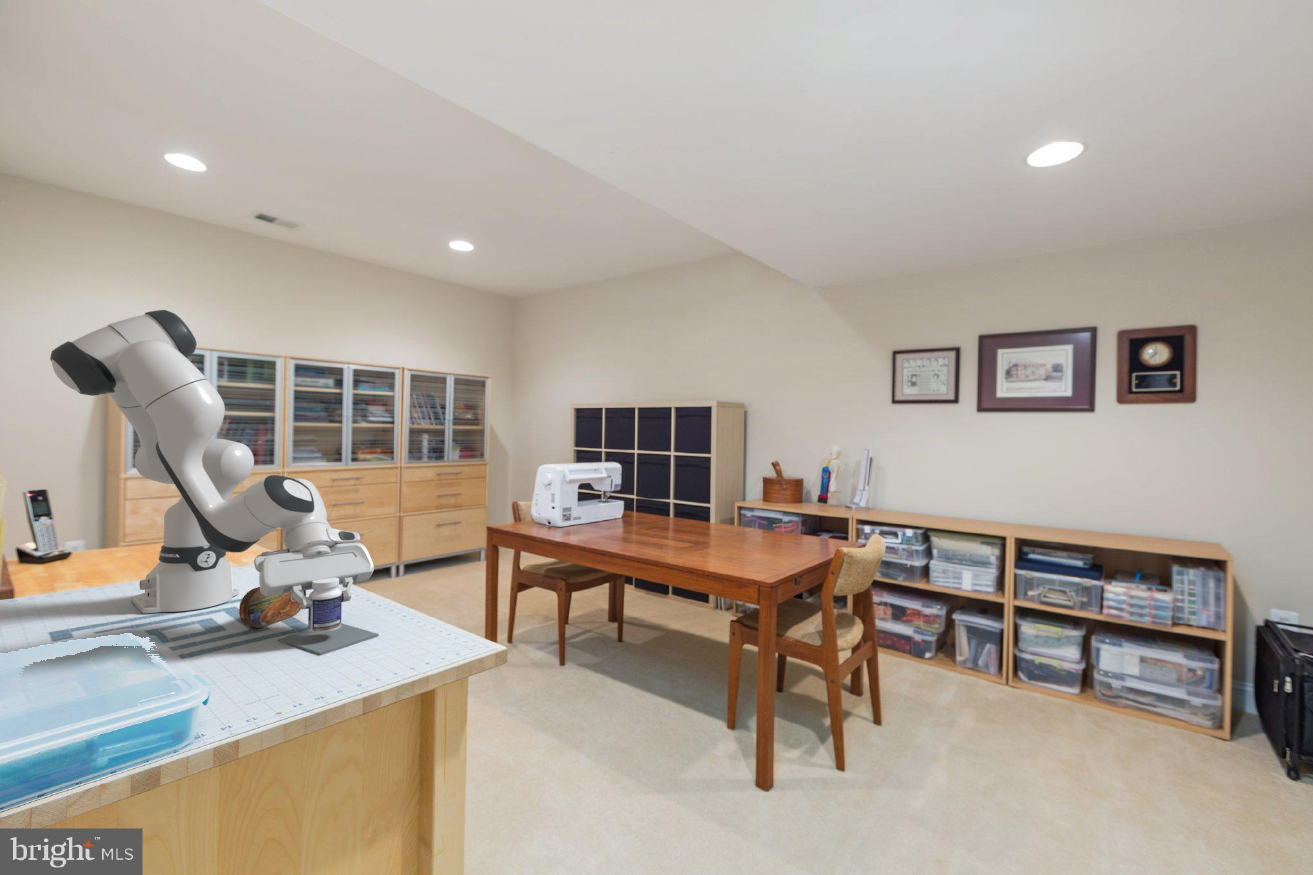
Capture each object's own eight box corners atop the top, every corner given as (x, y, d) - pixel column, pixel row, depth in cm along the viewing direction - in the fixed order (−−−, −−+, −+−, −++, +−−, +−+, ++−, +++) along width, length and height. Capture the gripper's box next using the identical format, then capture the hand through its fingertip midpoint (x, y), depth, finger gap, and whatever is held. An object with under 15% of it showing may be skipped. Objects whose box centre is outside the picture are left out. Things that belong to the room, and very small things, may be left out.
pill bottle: (347, 627, 116) (348, 577, 116) (323, 636, 110) (323, 584, 110) (326, 623, 118) (327, 574, 117) (301, 632, 112) (301, 581, 112)
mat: (277, 640, 113) (277, 638, 113) (336, 623, 124) (336, 621, 124) (320, 655, 106) (320, 653, 106) (378, 635, 117) (378, 633, 117)
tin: (248, 633, 117) (249, 592, 117) (235, 632, 117) (236, 591, 117) (307, 611, 131) (307, 574, 131) (295, 610, 132) (296, 573, 132)
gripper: (255, 544, 110) (269, 605, 104) (366, 532, 126) (384, 585, 119) (249, 563, 113) (261, 624, 107) (358, 549, 129) (375, 602, 122)
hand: (327, 603), depth 113 cm, fingers closed on pill bottle, 6 cm apart
